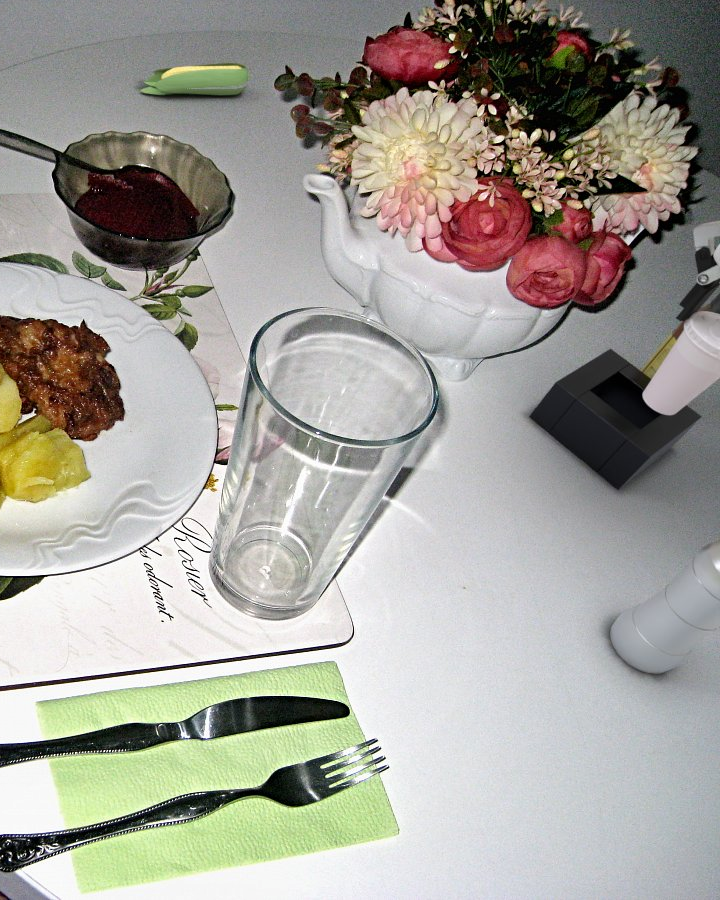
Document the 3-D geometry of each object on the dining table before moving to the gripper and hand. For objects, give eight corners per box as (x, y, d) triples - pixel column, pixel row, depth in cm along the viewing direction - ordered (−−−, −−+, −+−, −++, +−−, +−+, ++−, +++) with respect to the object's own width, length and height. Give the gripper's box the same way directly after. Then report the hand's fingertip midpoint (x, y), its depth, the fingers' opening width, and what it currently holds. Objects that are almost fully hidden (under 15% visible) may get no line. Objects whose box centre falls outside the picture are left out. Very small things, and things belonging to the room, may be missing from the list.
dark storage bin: (664, 454, 111) (702, 416, 106) (613, 495, 105) (650, 456, 99) (578, 387, 117) (610, 348, 112) (524, 421, 110) (555, 382, 105)
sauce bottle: (670, 427, 115) (784, 309, 100) (623, 410, 115) (730, 290, 101) (666, 395, 119) (774, 277, 105) (620, 378, 120) (722, 259, 105)
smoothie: (631, 411, 91) (724, 305, 80) (627, 372, 95) (716, 266, 85) (693, 433, 90) (796, 329, 80) (687, 393, 94) (783, 289, 84)
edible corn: (251, 99, 152) (259, 73, 149) (145, 102, 144) (151, 75, 141) (237, 83, 155) (245, 58, 151) (133, 85, 147) (138, 58, 144)
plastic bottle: (598, 614, 92) (733, 496, 77) (662, 636, 92) (810, 523, 77) (603, 667, 88) (747, 553, 73) (670, 691, 88) (828, 582, 73)
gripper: (748, 130, 74) (621, 296, 88) (961, 247, 67) (786, 410, 80) (784, 113, 78) (656, 275, 92) (988, 222, 71) (817, 381, 84)
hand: (718, 337), depth 86 cm, fingers closed on smoothie, 6 cm apart
